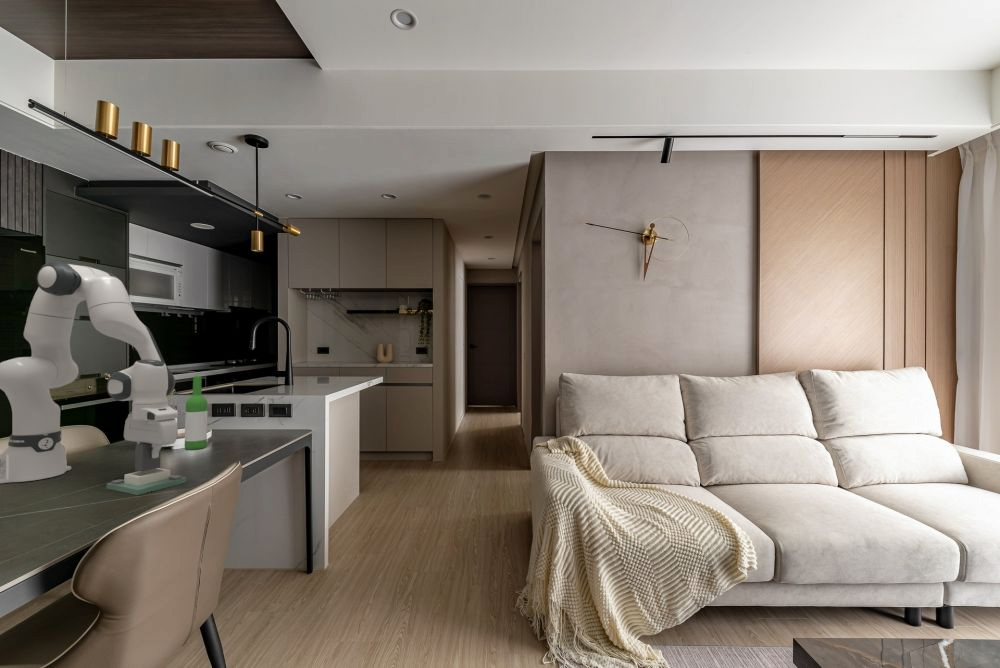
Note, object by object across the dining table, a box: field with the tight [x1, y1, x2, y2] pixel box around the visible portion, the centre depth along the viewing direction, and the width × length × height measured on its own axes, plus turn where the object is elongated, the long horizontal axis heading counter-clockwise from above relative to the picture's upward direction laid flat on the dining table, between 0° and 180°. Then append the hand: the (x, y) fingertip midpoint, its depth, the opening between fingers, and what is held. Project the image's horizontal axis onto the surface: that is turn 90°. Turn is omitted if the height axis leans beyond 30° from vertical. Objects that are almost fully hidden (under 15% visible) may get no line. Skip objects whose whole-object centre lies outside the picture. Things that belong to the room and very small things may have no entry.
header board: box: [106, 467, 187, 496], centre depth 144 cm, size 15×14×4 cm
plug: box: [134, 443, 161, 472], centre depth 144 cm, size 4×6×10 cm, turn 158°
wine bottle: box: [184, 375, 208, 451], centre depth 195 cm, size 8×8×30 cm
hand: (149, 457), depth 144 cm, fingers closed on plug, 3 cm apart
